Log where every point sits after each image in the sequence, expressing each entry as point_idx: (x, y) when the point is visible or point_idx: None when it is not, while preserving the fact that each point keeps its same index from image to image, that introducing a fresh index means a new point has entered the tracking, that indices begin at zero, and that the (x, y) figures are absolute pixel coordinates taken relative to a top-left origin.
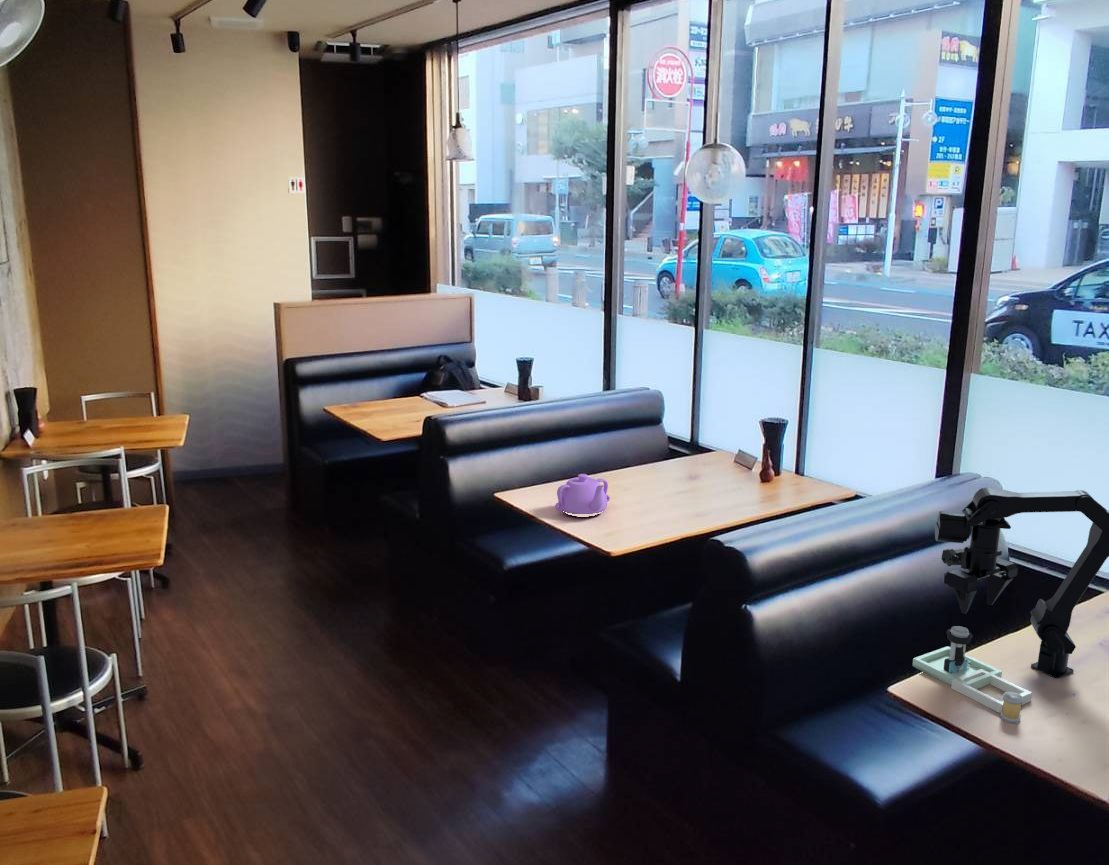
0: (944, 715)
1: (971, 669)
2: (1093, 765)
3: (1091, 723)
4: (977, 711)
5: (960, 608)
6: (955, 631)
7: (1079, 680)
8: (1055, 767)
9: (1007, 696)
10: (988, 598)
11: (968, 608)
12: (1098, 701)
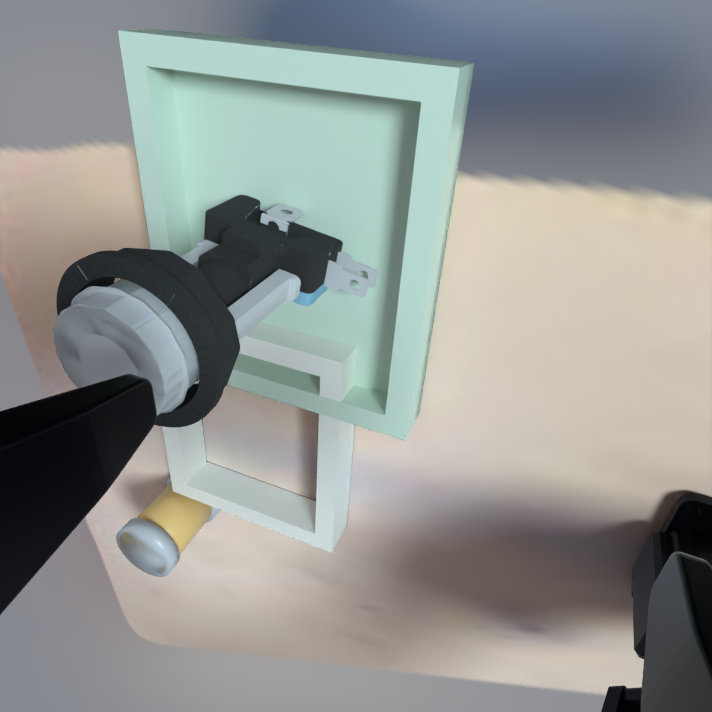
0: (35, 346)
1: (366, 294)
2: (201, 641)
3: (372, 655)
4: None
5: (82, 389)
6: (58, 353)
7: None
8: (127, 586)
9: (126, 540)
10: (678, 644)
11: (93, 489)
12: (542, 685)
